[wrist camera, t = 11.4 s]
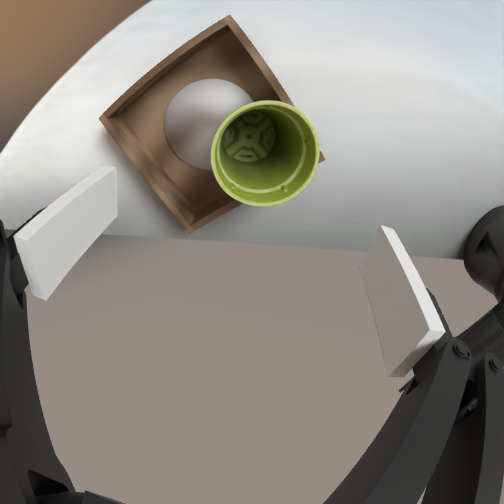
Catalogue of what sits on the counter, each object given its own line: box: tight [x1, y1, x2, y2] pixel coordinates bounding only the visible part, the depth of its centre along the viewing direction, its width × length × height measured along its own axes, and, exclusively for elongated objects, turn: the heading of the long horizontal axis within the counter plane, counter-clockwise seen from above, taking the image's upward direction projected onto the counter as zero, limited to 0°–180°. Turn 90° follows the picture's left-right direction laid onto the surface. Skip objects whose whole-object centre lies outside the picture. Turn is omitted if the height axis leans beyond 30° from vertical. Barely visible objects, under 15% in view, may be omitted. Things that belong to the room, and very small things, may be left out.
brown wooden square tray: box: [99, 15, 325, 234], centre depth 29 cm, size 18×18×4 cm
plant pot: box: [211, 100, 320, 206], centre depth 27 cm, size 9×9×9 cm
